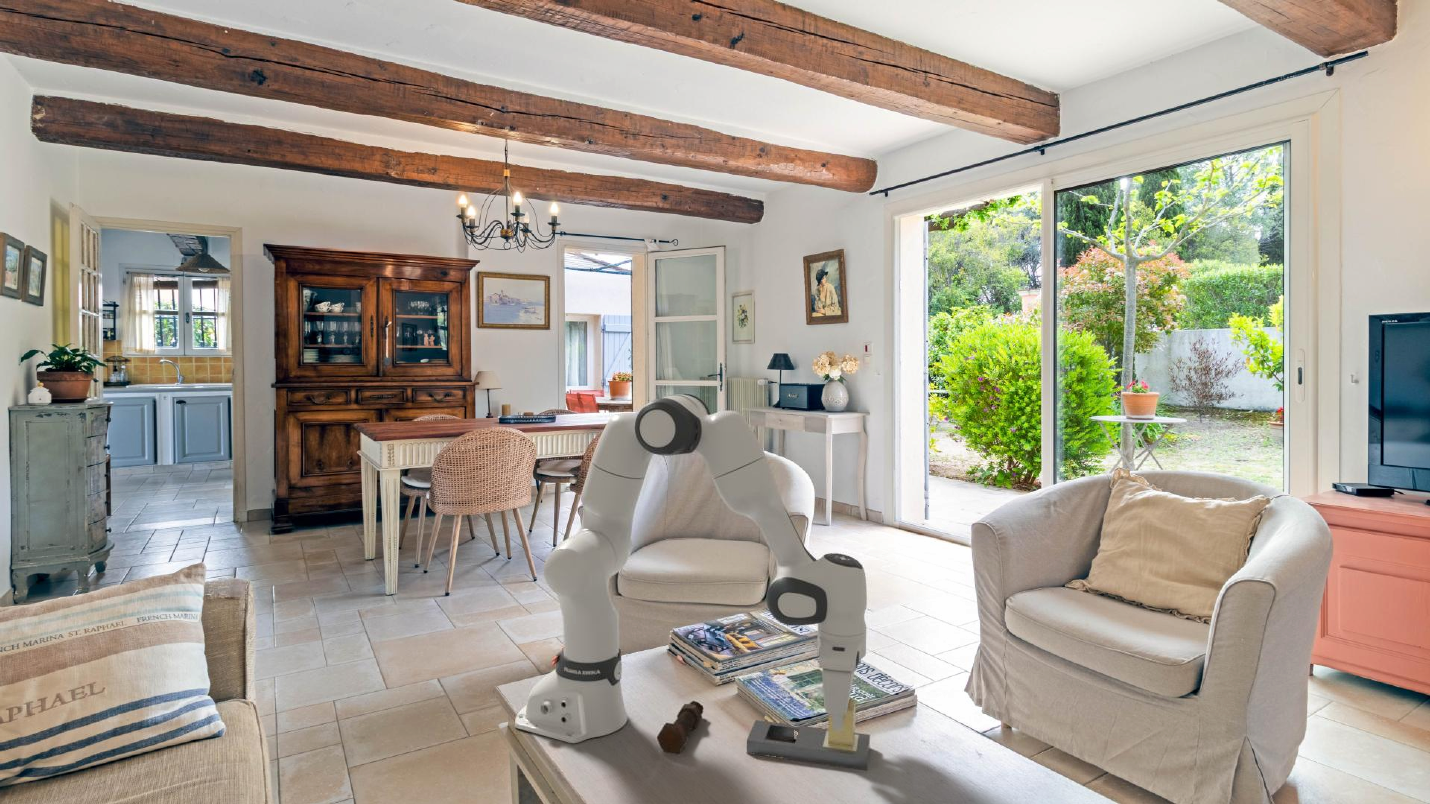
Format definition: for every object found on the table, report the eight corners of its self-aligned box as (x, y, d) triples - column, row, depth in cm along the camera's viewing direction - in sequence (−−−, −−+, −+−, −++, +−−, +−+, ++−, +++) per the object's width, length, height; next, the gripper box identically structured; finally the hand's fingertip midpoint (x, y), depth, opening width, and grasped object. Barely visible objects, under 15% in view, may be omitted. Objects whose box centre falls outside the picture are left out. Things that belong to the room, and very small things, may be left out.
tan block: (828, 745, 136) (828, 708, 135) (831, 733, 140) (831, 697, 140) (853, 748, 134) (853, 711, 134) (855, 736, 139) (855, 700, 138)
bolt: (700, 726, 152) (674, 761, 138) (680, 711, 153) (652, 744, 139) (713, 703, 151) (689, 736, 137) (693, 688, 152) (666, 720, 138)
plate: (746, 753, 138) (746, 739, 138) (755, 732, 146) (755, 719, 146) (867, 770, 132) (867, 755, 132) (869, 747, 140) (869, 733, 140)
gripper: (830, 622, 147) (829, 690, 148) (817, 662, 127) (816, 741, 128) (862, 625, 145) (861, 694, 146) (854, 666, 126) (853, 746, 127)
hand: (840, 716), depth 137 cm, fingers open, 8 cm apart
